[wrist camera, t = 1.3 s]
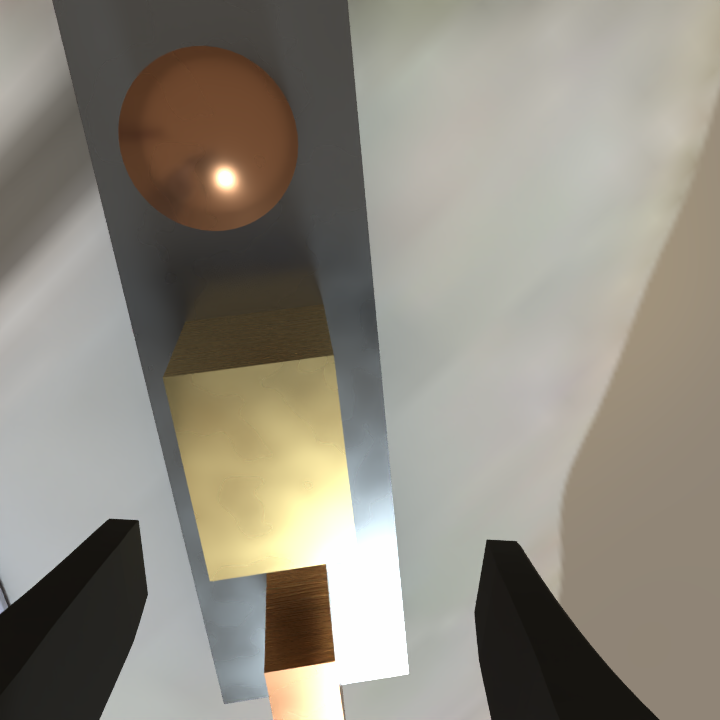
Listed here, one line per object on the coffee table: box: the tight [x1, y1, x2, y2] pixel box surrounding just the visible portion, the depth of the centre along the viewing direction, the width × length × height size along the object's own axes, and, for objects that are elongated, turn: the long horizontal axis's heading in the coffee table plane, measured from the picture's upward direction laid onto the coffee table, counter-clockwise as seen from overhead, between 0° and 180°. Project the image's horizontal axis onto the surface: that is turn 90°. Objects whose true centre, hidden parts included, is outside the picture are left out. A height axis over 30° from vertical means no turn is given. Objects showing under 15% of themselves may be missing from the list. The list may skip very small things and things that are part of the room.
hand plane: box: [52, 0, 409, 720], centre depth 19 cm, size 7×24×7 cm, turn 5°
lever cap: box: [163, 304, 358, 581], centre depth 18 cm, size 4×6×4 cm, turn 5°
